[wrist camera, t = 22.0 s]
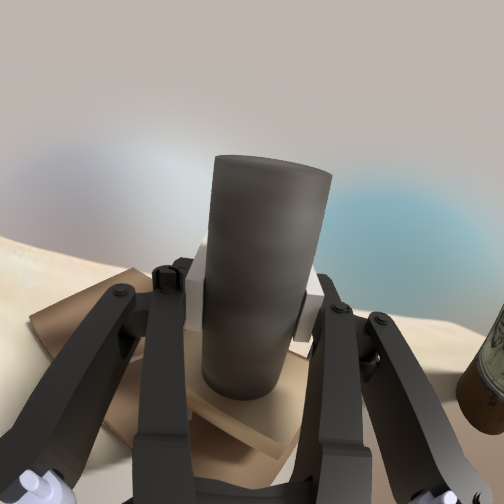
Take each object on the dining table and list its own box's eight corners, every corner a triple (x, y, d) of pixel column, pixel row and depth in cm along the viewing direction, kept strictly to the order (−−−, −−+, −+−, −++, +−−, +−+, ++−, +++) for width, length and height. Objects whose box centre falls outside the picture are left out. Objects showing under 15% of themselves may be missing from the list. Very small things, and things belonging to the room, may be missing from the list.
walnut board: (33, 328, 19) (28, 315, 18) (134, 278, 30) (133, 267, 30) (240, 523, 9) (243, 520, 8) (329, 381, 20) (335, 369, 20)
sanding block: (150, 378, 15) (134, 152, 9) (209, 334, 20) (225, 148, 14) (278, 460, 11) (389, 209, 6) (320, 390, 16) (396, 188, 10)
